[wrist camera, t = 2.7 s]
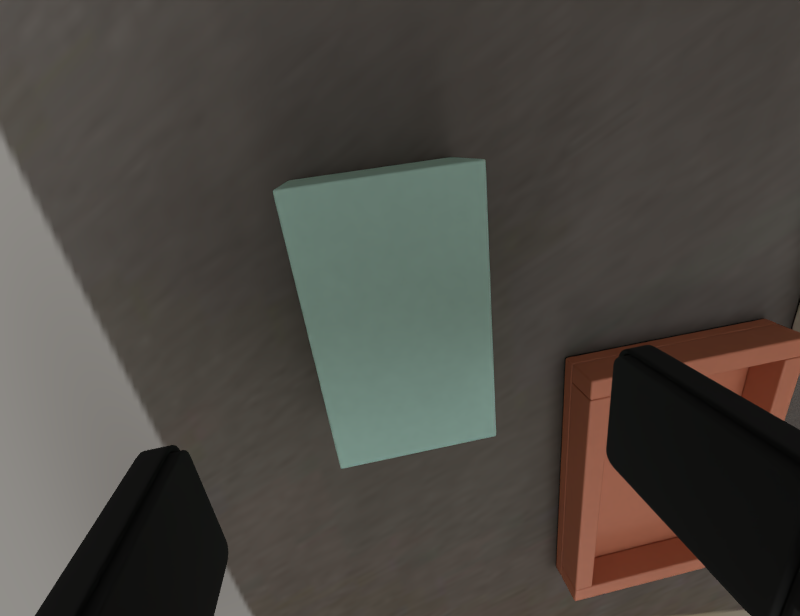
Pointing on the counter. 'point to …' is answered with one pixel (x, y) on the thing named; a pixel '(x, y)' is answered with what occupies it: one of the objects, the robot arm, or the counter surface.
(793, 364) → the holder
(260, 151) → the counter surface
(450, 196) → the pad base
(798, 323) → the pad top
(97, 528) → the robot arm
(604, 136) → the counter surface
